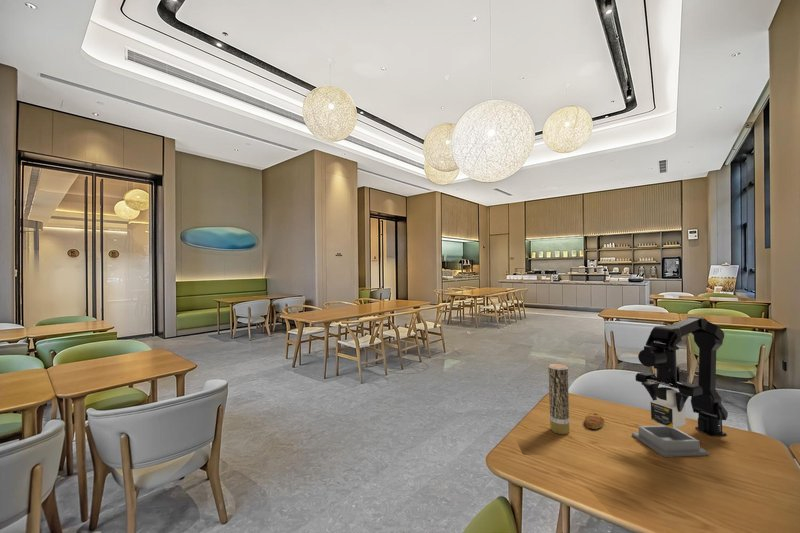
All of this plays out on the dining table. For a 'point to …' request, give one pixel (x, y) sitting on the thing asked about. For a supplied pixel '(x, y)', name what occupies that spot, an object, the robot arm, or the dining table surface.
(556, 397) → the bark-patterned cylinder
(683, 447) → the bottle caddy
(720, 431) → the robot arm
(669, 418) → the medicine bottle
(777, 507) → the dining table surface
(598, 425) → the pastry
